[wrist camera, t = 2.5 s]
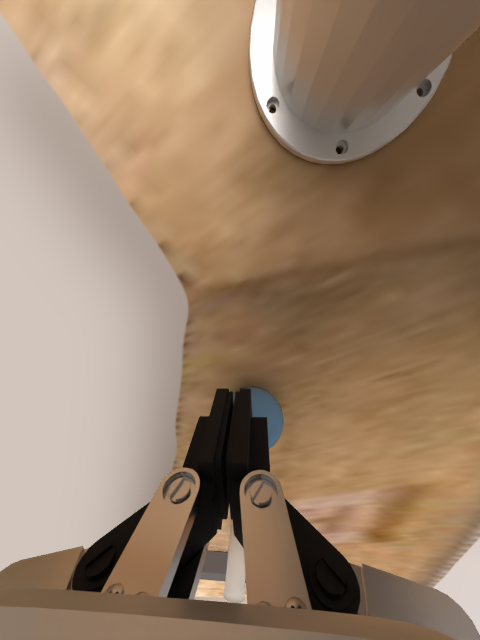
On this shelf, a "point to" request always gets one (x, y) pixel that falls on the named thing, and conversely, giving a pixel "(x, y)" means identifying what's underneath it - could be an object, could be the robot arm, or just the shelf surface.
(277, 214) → the shelf surface
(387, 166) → the shelf surface
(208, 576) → the grey long square bar
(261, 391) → the ball
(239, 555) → the pin
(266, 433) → the robot arm
